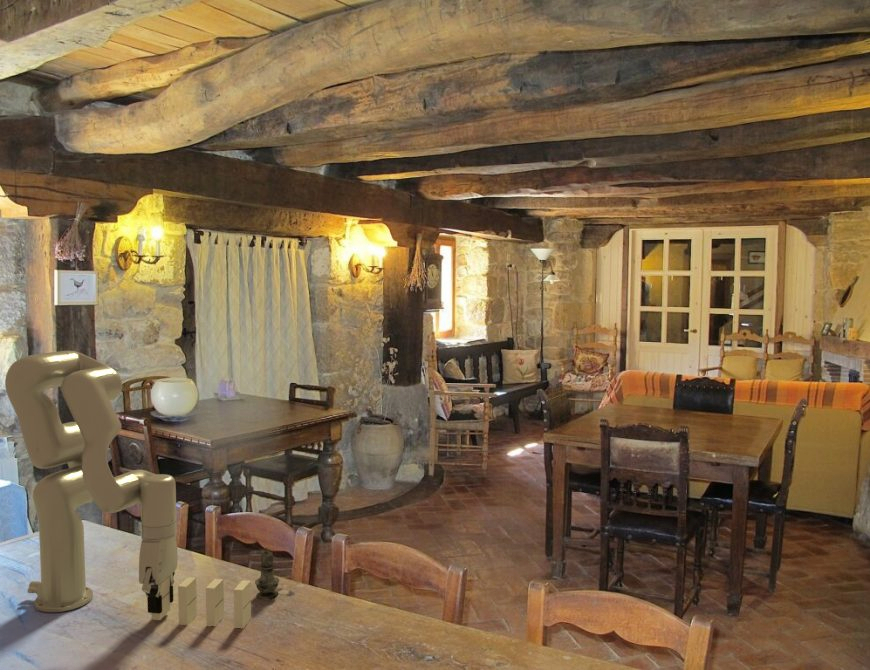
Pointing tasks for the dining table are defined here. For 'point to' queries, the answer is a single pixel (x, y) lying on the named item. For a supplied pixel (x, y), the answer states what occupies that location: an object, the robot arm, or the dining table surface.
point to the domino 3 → (214, 602)
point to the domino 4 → (242, 604)
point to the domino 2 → (187, 600)
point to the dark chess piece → (267, 578)
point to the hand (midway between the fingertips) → (160, 606)
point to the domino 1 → (163, 599)
